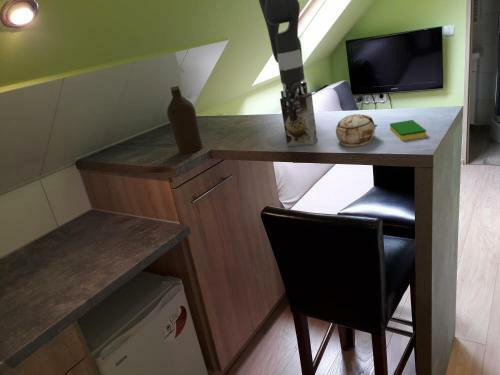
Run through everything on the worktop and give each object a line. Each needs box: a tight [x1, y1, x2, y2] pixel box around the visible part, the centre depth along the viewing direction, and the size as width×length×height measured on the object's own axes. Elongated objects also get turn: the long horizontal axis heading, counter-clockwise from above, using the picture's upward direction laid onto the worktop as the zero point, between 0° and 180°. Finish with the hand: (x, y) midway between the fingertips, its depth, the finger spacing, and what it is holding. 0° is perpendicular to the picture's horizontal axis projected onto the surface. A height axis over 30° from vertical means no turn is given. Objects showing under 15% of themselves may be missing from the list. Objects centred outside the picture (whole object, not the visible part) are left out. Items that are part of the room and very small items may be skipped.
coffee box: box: [279, 92, 318, 147], centre depth 130 cm, size 9×6×16 cm
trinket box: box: [335, 113, 378, 147], centre depth 123 cm, size 13×15×8 cm
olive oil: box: [166, 85, 204, 155], centre depth 150 cm, size 11×11×25 cm
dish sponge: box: [389, 119, 427, 141], centre depth 120 cm, size 7×14×2 cm, turn 174°
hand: (298, 117), depth 130 cm, fingers closed on coffee box, 6 cm apart
